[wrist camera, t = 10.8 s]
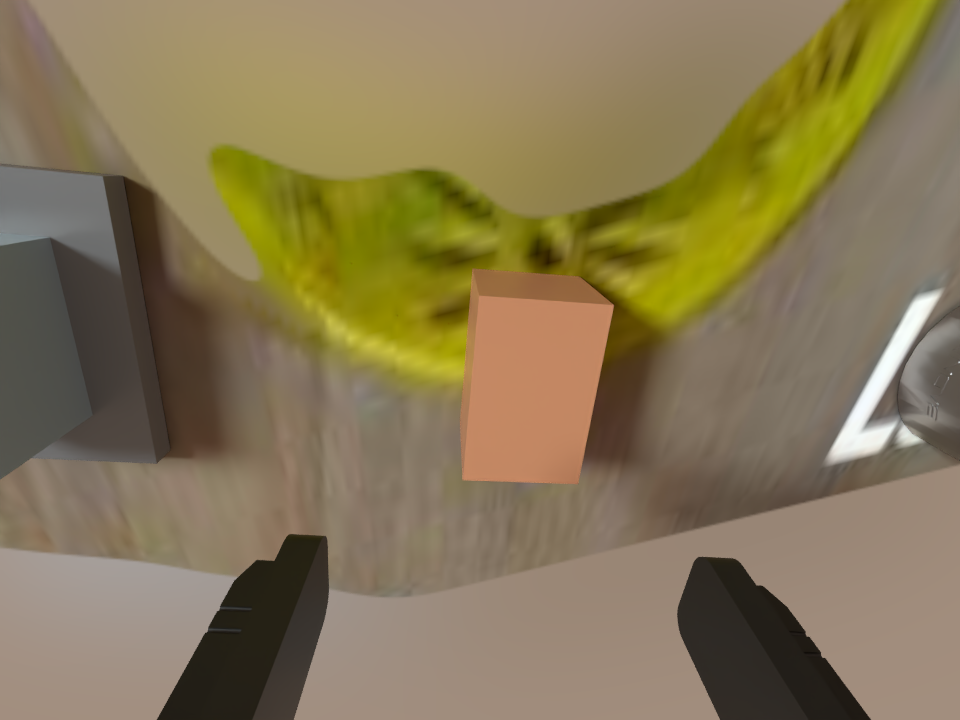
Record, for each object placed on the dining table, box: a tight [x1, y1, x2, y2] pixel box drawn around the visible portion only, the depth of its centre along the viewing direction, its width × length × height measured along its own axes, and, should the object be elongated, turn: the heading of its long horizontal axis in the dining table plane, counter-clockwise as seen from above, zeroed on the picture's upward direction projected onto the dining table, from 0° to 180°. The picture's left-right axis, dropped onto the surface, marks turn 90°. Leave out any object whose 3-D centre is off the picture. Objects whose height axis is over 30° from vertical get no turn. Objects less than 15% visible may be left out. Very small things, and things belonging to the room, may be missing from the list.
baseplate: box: [0, 164, 170, 464], centre depth 20 cm, size 10×13×1 cm
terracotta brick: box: [460, 269, 614, 484], centre depth 21 cm, size 5×8×5 cm, turn 175°
